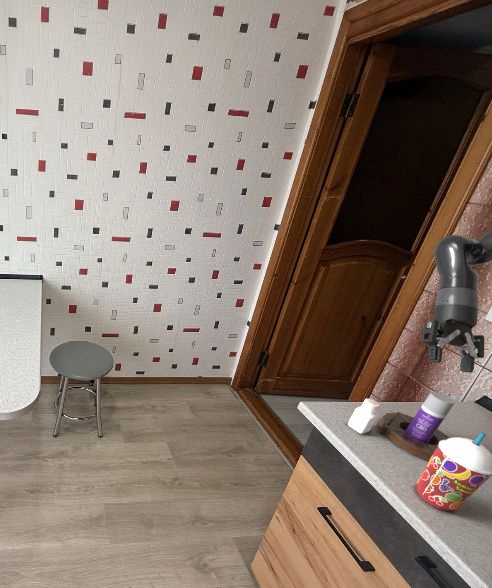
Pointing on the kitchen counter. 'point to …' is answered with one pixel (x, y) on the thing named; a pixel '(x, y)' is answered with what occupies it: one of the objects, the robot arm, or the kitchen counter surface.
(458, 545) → the kitchen counter surface
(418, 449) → the collar
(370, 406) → the pepper shaker
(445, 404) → the container
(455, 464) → the smoothie
